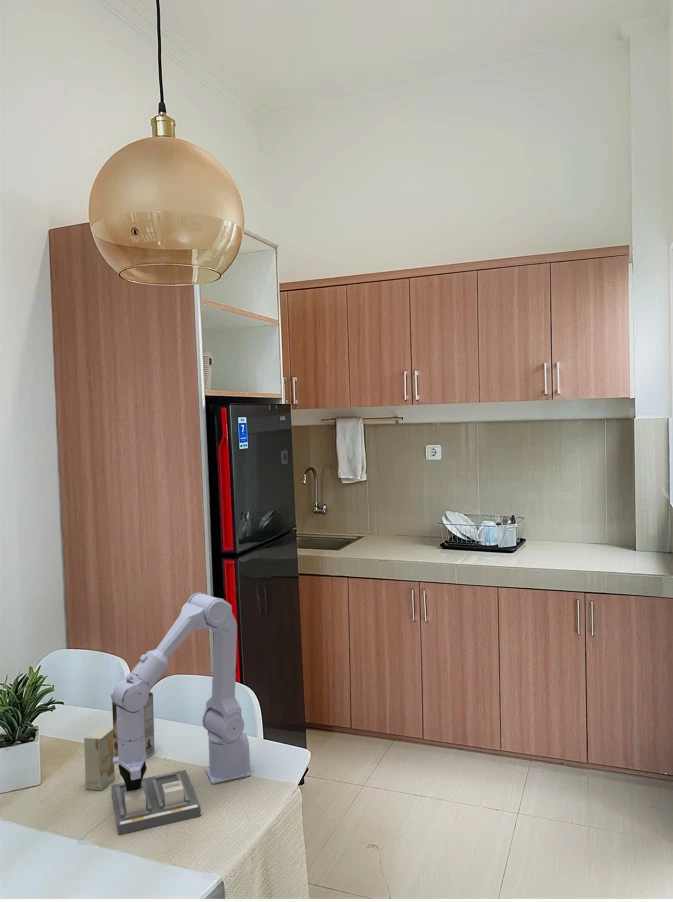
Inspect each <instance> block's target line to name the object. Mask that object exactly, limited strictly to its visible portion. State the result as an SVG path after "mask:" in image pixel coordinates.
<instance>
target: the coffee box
mask: <svg viewBox="0 0 673 902" xmlns="http://www.w3.org/2000/svg"><path fill="white" fill-rule="evenodd" d="M111 703H112V707H111V708H112V729H113V741H114V756H115V757H117V756H118V737H117V709H116V704H115V703H114V702H113V701H112V700H111ZM154 719H155V718H154V693H153V692H152V691H150V692H149V698H148V701H147V704H146V705H144V728H145V752H146V755H147V757H146V759H147V758H149V757H151V756H154V755H155V753H156V752H155V722H154V721H155V720H154Z"/></svg>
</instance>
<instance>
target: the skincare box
mask: <svg viewBox="0 0 673 902" xmlns="http://www.w3.org/2000/svg"><path fill="white" fill-rule="evenodd" d="M83 743H84V767H85V768H84V772H85V773H84V775H85V776H84V778H85V779H84V780H85V790H95V791H103V790H104V789H105V788H106V787H107V786H108V785H109V784H111V782H112V781H114V779H115V778H116V777H115V774H116V773H115V771H116V770H115V764H113V758H114V757H115V755H114V739H113V728H109V727H108V728H107V727H96V728H95V729H94V730H93V731H91V732H90V733H89V734H87V735H86V736H85V737H84V738H83Z"/></svg>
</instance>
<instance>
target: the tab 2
mask: <svg viewBox="0 0 673 902" xmlns="http://www.w3.org/2000/svg"><path fill="white" fill-rule="evenodd" d="M162 794H163V801H164V804H165V807H166V806H170V805H175V804H179V803H184V789H183V786H182V783H181V781H175V782H171V783H166V784H162Z"/></svg>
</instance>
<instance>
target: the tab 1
mask: <svg viewBox="0 0 673 902" xmlns="http://www.w3.org/2000/svg"><path fill="white" fill-rule="evenodd" d="M124 795H125V809H126V814H127V815H130V814H135V813H139V812H143V811H146V796H145V792H144V789H143V788H142V789H138V790H133V791H128V792H124Z"/></svg>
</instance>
